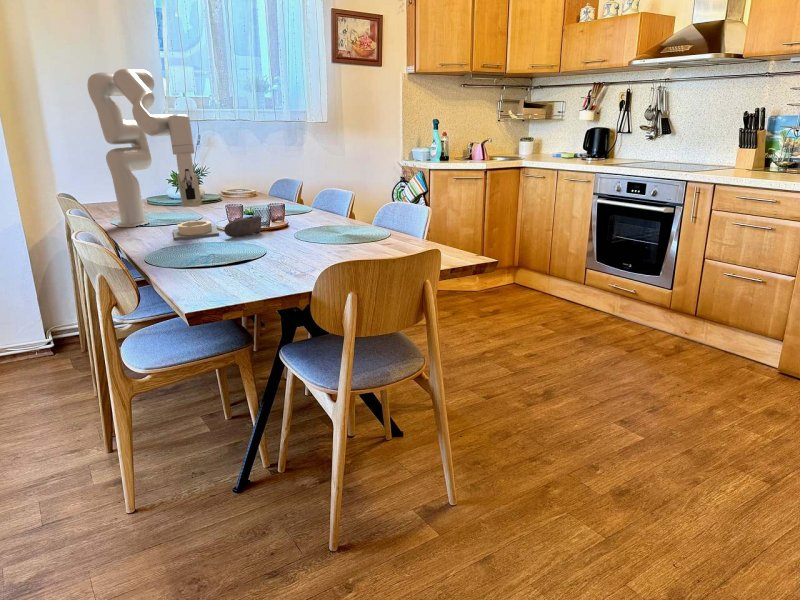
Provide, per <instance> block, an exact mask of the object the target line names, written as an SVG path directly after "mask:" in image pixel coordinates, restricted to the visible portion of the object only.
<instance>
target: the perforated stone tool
mask: <svg viewBox="0 0 800 600" xmlns="http://www.w3.org/2000/svg"><path fill="white" fill-rule="evenodd" d="M223 230H224V234H225V235H226V236H228V237H230V238H238V237H241V238H242V237H249V236H253V235H258V234H260V233H261V230H262V217H261V215H253V216H246V217H242V218H238V219H235V220H232V221H230V222H229V223H227V224H226V225H225V226H224V229H223Z"/></svg>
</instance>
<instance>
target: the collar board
mask: <svg viewBox="0 0 800 600" xmlns="http://www.w3.org/2000/svg"><path fill="white" fill-rule="evenodd" d="M172 232H173V239H174V241H181V240H180V239H183V240H190V239H189V238H192V239H199V238H198V237H202V238H208V237H209V238H210V237H211V238H212V237H218V236H220V232H219V231H218V229H217V227H216V225H212V222H211V221H210V220H190V221H189V220H188V221H185V222H181V223H177V228H176V229H172Z"/></svg>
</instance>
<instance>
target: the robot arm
mask: <svg viewBox="0 0 800 600" xmlns="http://www.w3.org/2000/svg"><path fill="white" fill-rule="evenodd" d="M86 86H87V92H88V95H89V97H90V100H91V102H92V104H93V105H94V107H95V110H96V114H97V116H98V120H99V123H100V127H101V131H102V134H103V137H104V139H105V142H107V143H108V144H109V145H115V146H117V145H131V146H130V147H129V146H126V147H117V148H116V147H115V148H112V149H110V150H109V151H107V152H106V156H105V160H106V165H107V167H108V170H109V172H110V175H111V179H112V183H113V188H114V193H115V198H116V202H117V209H118V213H119V218H120V221H119V222H118V223H116V224H117V227H118V228H137V227H136V225H141V224H146V223H148V222H150V223H151V221H150V219H147V218H146V216H145V210H144V204H143V200H142V199H143V198H142V192H141V188H140V187H141V186H140V182H139V180H138V178H137V176H136V175H134V173H133V172H134V171H135V172H136V171H143V170H147V169H149V168H150V167H151V165H152V155H151V150H150V147H149V142H148V138H147V136H150V137H161V136H162V137H163V136H164V137H165V136H167V137H170V142H171V150H172V154H173V155H174V156H175V155H176V157H175V158H176V164H177V171H178V175H179V177H180V181H181V182H182V180H184V182H185V187H186V189H185V192H186V198H187V200H190V199H196V197H195V190H194V188H193V182H192V181H193V180H194V164H193V157H192V155H193V154H195V148H194V140H193V133H192V127H191V120H190V117H189V115H187V114H173V113H171V114H170V113H169V114H168V113H167V114H150V113H149V112H148V111H147V110H148V109H150V108H151V107H152V106H153V105H154V102H155V94H154V92H153V90H154V88H155V80H154V77H153V76H152V74H151V73H150V72H149V71H147V70H145V69H141V68H121V69H118V70H116V71H115V72H96V73H93V74H91V75H90V76H89V77H88V80H87V85H86ZM111 96H113V97H114V96H115V97H120V96H122V97H125V98H126V99H127V100H128V101H129V102H130V103H131V104H132V108H131V109H132V110H131V111H132V116H133V119H124V118H123V116H122V112H121V108H120V107H119V105H118V104H117V102H116V101H115V100H114V99H112V98H111ZM185 174H186V175H185ZM190 176H191V180H190ZM186 179H187V180H186Z"/></svg>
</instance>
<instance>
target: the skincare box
mask: <svg viewBox="0 0 800 600" xmlns="http://www.w3.org/2000/svg"><path fill="white" fill-rule="evenodd" d="M185 175H186V174H185ZM176 180H177V184H178V189H179V195H180V199H181V205H182V206H181V207H182V208H183V207H184V208H196V207H200V206H203V201H202V196H201V195H202V194H201V191H200V185H199V178H198V174H197V173H196V172H195V173H194V180H193V181H192V182H193V188H194V190H195V197H196V199H190V200H187V198H186V192H185V189H186V187H185V182H184V180H182V182H181V181H180V177H179V174H176ZM186 180H187V179H186ZM190 180H191V176H190Z"/></svg>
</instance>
